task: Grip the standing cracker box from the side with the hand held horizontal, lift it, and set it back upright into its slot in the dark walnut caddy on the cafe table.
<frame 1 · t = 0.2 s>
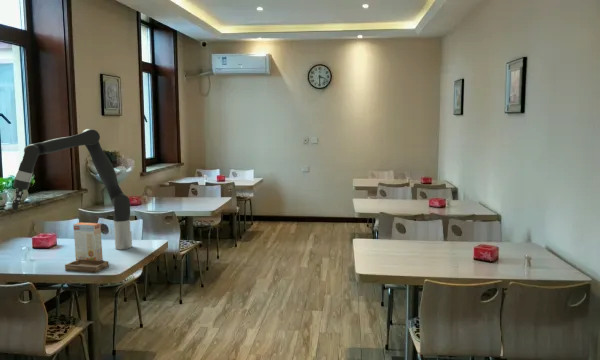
hand: (14, 208, 273), 31 cm above the table, tool tilted 20°, fingers open, 8 cm apart
cracker box: (89, 260, 282), on the table
walnut caddy: (87, 268, 266), on the table
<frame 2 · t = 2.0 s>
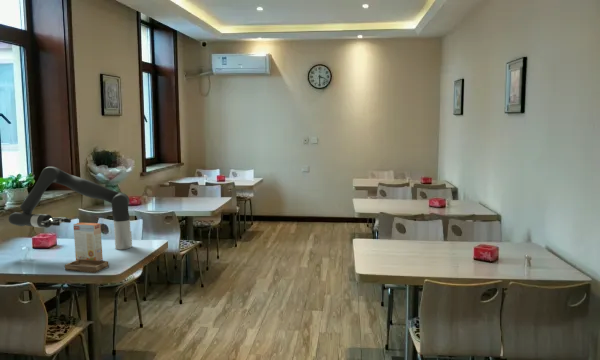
hand: (65, 222, 283), 21 cm above the table, tool horizontal, fingers open, 8 cm apart
nothing on the table moved.
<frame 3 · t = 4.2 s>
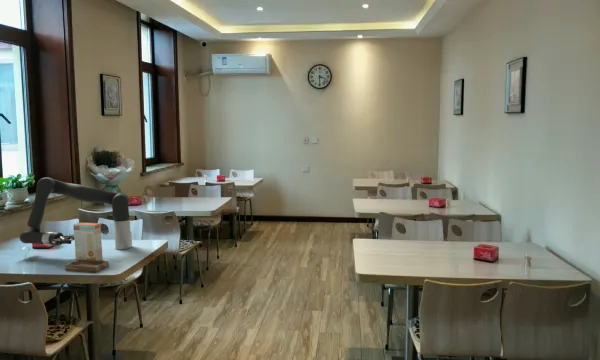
hand: (76, 240, 283), 11 cm above the table, tool horizontal, fingers open, 8 cm apart
nothing on the table moved.
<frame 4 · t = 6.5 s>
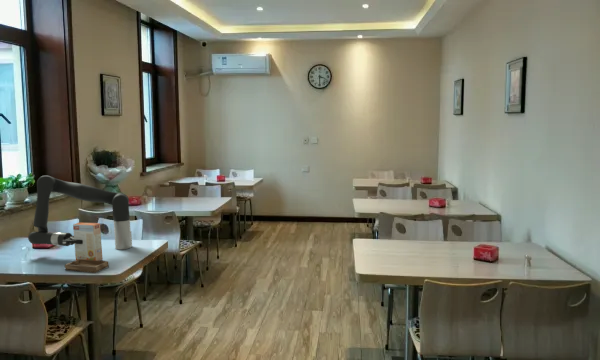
hand: (86, 240, 281), 11 cm above the table, tool horizontal, fingers closed on cracker box, 6 cm apart
cracker box: (89, 260, 282), on the table, touching gripper
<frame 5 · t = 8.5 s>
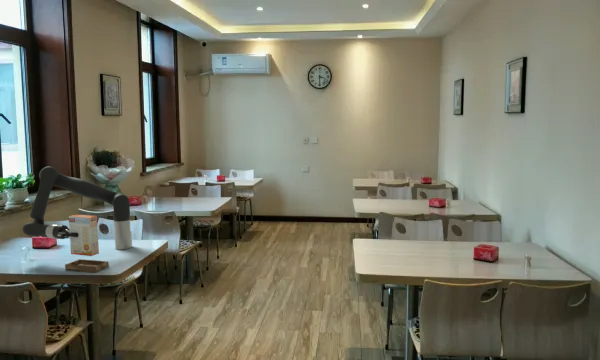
hand: (82, 233, 268), 18 cm above the table, tool horizontal, fingers closed on cracker box, 6 cm apart
cracker box: (85, 254, 269), point 6 cm above the table, touching gripper
when the fingers open (13 cm above the table, at t = 10.8 s): cracker box drops 1 cm, resting on walnut caddy.
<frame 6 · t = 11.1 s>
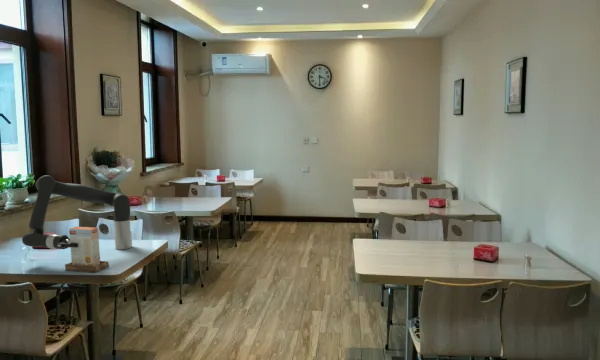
hand: (83, 243, 264), 13 cm above the table, tool horizontal, fingers open, 8 cm apart
cracker box: (86, 267, 266), point 1 cm above the table, touching walnut caddy
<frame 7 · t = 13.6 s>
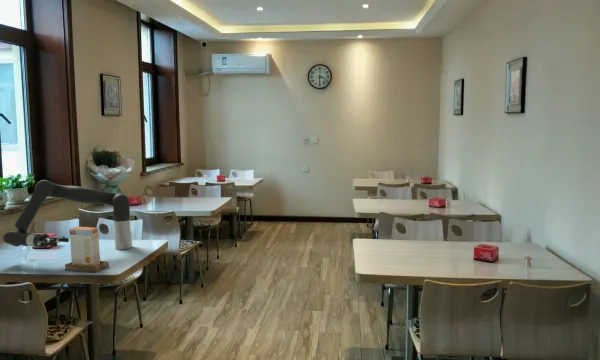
hand: (62, 242, 268), 14 cm above the table, tool horizontal, fingers open, 8 cm apart
nothing on the table moved.
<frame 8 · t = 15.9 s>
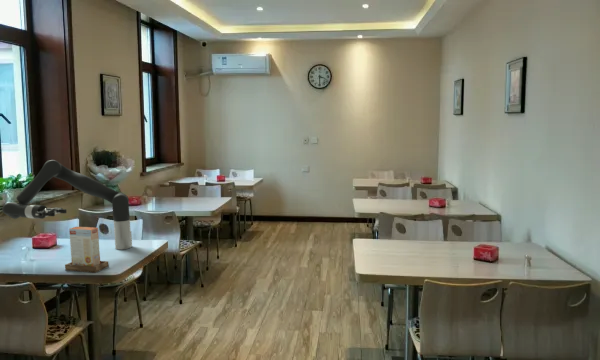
hand: (60, 212, 274), 28 cm above the table, tool horizontal, fingers open, 8 cm apart
nothing on the table moved.
at the end: cracker box 0.4 cm off-centre on the walnut caddy, point 0.8 cm above the walnut caddy's base; cracker box tilted 0°; the gripper is holding nothing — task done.
